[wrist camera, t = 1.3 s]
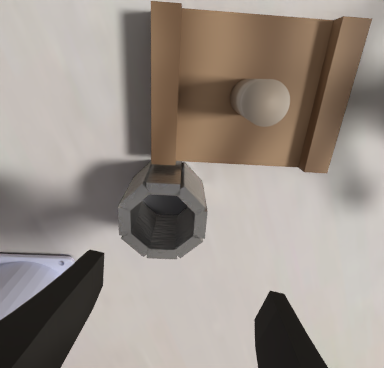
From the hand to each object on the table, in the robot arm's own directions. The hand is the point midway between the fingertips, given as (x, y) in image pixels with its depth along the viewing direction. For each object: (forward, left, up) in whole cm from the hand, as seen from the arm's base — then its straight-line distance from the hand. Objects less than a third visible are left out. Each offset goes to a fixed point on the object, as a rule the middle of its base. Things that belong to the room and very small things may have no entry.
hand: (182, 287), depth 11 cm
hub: (-1, 0, -10) cm, 10 cm away
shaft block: (+4, +7, -10) cm, 13 cm away
